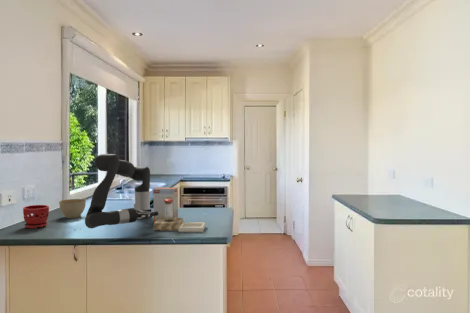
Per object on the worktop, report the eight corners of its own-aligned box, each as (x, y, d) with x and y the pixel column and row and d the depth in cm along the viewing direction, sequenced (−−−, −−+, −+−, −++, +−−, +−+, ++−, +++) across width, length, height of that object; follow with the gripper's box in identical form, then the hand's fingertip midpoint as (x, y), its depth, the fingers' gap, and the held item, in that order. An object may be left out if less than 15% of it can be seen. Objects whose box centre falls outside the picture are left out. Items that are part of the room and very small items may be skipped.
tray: (178, 232, 190) (178, 227, 189) (182, 226, 203) (182, 222, 202) (202, 232, 189) (202, 227, 189) (205, 226, 202) (205, 222, 202)
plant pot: (19, 230, 198) (19, 208, 197) (28, 225, 211) (28, 205, 210) (45, 228, 200) (44, 207, 200) (52, 223, 213) (51, 204, 213)
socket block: (153, 230, 194) (153, 223, 194) (159, 224, 208) (159, 218, 208) (179, 230, 194) (178, 223, 194) (183, 224, 208) (183, 217, 208)
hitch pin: (163, 228, 198) (162, 200, 198) (165, 226, 204) (164, 198, 204) (172, 228, 198) (172, 200, 198) (174, 226, 204) (174, 198, 203)
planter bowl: (68, 220, 222) (68, 203, 222) (54, 217, 231) (54, 201, 231) (91, 216, 235) (91, 200, 235) (77, 213, 244) (76, 198, 244)
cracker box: (178, 221, 218) (178, 187, 218) (174, 223, 212) (174, 188, 212) (158, 220, 222) (157, 186, 221) (153, 222, 216) (153, 188, 216)
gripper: (131, 210, 179) (160, 207, 190) (120, 207, 191) (148, 203, 201) (131, 225, 180) (160, 220, 190) (121, 220, 191) (148, 216, 201)
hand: (154, 212), depth 195 cm, fingers open, 8 cm apart
